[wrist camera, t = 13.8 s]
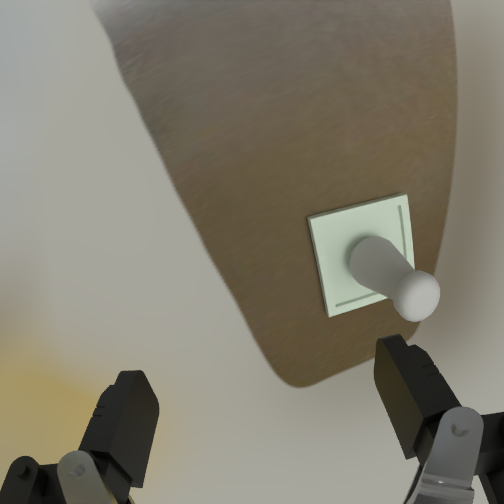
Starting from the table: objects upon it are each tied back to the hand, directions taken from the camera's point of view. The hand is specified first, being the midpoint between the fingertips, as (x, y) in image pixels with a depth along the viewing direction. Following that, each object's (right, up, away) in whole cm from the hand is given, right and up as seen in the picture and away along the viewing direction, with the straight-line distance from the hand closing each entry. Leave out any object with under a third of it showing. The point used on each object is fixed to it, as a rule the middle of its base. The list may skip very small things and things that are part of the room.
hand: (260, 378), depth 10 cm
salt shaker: (+13, +4, +25) cm, 29 cm away
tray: (+13, +4, +26) cm, 29 cm away
